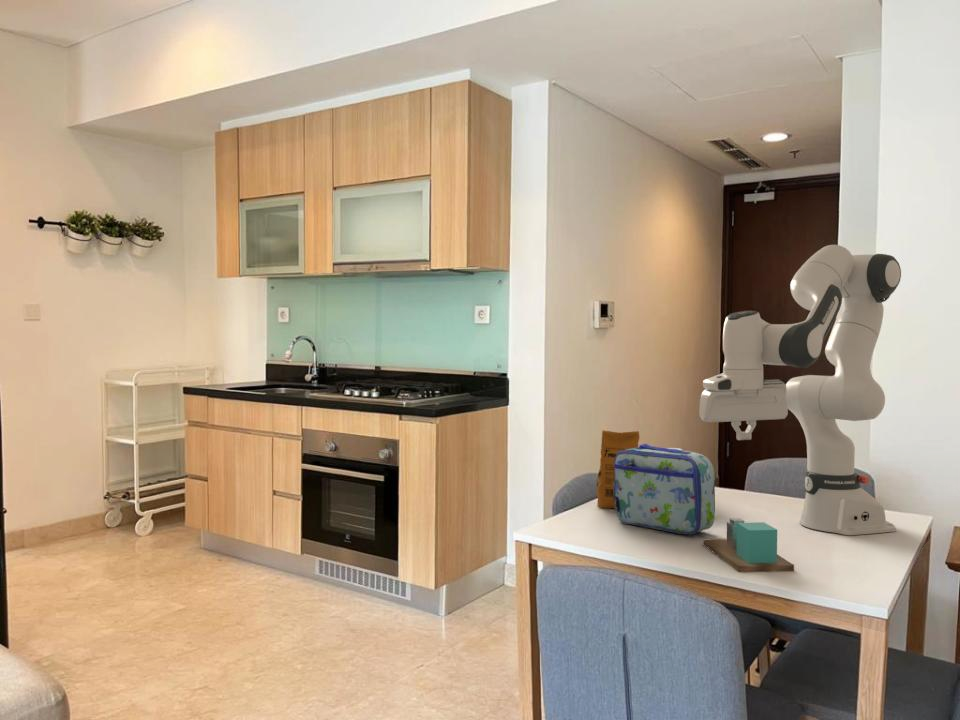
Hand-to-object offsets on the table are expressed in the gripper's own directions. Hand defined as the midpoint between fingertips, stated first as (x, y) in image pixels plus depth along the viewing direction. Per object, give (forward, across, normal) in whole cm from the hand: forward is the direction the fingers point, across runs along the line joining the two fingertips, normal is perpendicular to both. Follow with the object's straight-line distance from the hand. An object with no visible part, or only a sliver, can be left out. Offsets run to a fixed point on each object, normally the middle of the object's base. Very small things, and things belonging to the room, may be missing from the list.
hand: (743, 439), depth 173 cm
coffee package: (+26, +19, -42) cm, 52 cm away
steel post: (+24, +4, +4) cm, 24 cm away
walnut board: (+25, +4, +9) cm, 27 cm away
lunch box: (+25, +14, -18) cm, 34 cm away
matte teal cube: (+24, +4, +14) cm, 28 cm away
